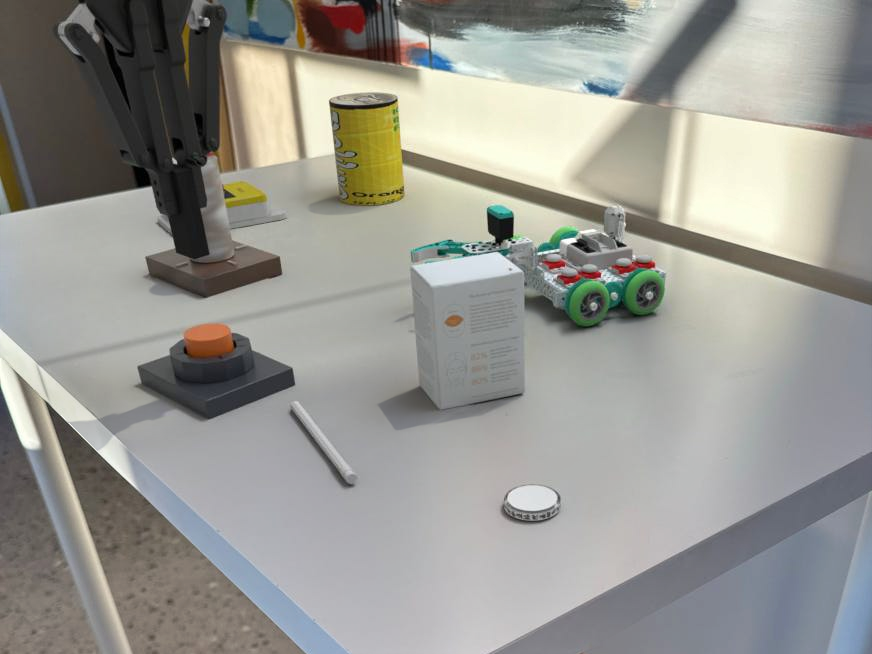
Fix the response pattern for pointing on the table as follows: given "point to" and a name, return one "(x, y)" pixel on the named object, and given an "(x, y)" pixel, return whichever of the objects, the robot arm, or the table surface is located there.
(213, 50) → the robot arm
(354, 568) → the table surface
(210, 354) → the push knob
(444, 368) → the small box
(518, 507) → the white flat disc
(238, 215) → the yellow box on plate
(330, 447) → the white rod
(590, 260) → the robot kit
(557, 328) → the table surface
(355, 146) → the beverage can
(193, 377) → the button housing
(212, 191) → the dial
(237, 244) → the dial panel
